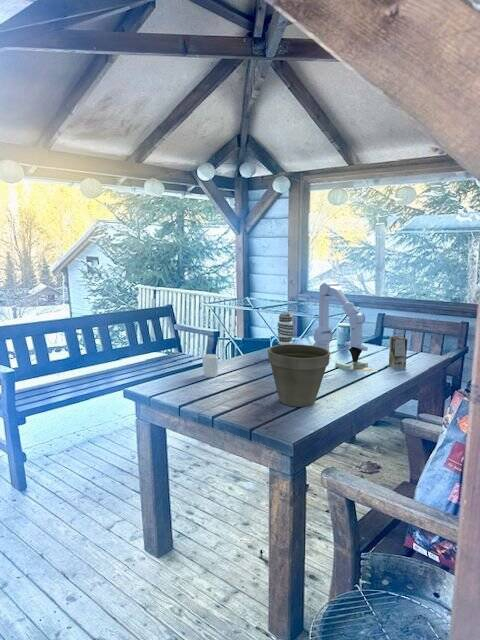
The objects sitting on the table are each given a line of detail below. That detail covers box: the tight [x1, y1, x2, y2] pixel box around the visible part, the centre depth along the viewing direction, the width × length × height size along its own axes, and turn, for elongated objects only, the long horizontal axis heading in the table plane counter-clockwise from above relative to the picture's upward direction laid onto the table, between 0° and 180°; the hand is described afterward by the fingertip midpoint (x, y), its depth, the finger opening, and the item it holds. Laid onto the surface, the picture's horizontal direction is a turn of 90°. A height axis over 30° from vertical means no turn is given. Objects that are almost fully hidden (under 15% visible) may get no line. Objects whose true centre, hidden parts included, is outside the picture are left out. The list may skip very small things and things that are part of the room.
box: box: [335, 359, 369, 371], centre depth 241 cm, size 9×15×2 cm, turn 121°
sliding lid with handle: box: [352, 363, 377, 373], centre depth 234 cm, size 9×10×4 cm
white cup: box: [201, 353, 219, 378], centre depth 226 cm, size 8×8×10 cm
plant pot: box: [267, 343, 331, 408], centre depth 187 cm, size 25×25×22 cm
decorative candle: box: [277, 312, 294, 345], centre depth 266 cm, size 9×9×25 cm
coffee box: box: [388, 335, 408, 370], centre depth 240 cm, size 9×6×16 cm
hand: (355, 361), depth 239 cm, fingers closed
